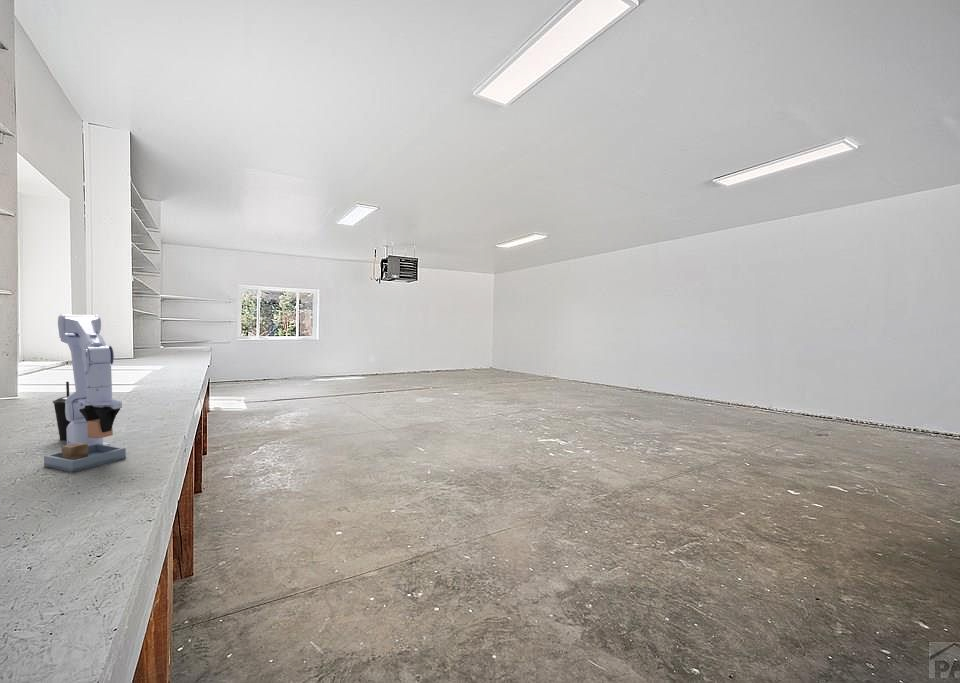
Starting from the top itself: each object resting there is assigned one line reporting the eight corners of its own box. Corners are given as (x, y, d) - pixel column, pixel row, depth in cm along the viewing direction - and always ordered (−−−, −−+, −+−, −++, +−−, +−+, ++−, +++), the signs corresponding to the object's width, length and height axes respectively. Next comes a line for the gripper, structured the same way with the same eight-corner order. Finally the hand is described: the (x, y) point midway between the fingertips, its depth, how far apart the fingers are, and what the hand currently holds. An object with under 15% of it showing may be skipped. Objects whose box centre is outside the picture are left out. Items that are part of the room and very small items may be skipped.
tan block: (79, 458, 124) (78, 442, 124) (88, 460, 123) (87, 443, 123) (62, 463, 120) (61, 446, 120) (71, 465, 119) (70, 447, 119)
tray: (44, 466, 120) (43, 455, 120) (98, 452, 132) (97, 443, 132) (72, 472, 116) (72, 461, 116) (125, 457, 128) (125, 448, 128)
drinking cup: (65, 442, 143) (63, 383, 142) (48, 440, 145) (45, 382, 144) (90, 436, 151) (88, 380, 150) (73, 434, 152) (71, 379, 151)
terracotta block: (102, 434, 129) (101, 418, 129) (112, 435, 128) (112, 419, 128) (87, 437, 125) (87, 421, 125) (98, 438, 125) (97, 422, 124)
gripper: (65, 387, 124) (67, 432, 125) (103, 389, 121) (104, 436, 122) (92, 383, 131) (93, 426, 132) (128, 385, 128) (130, 430, 128)
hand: (100, 430), depth 127 cm, fingers closed on terracotta block, 4 cm apart
